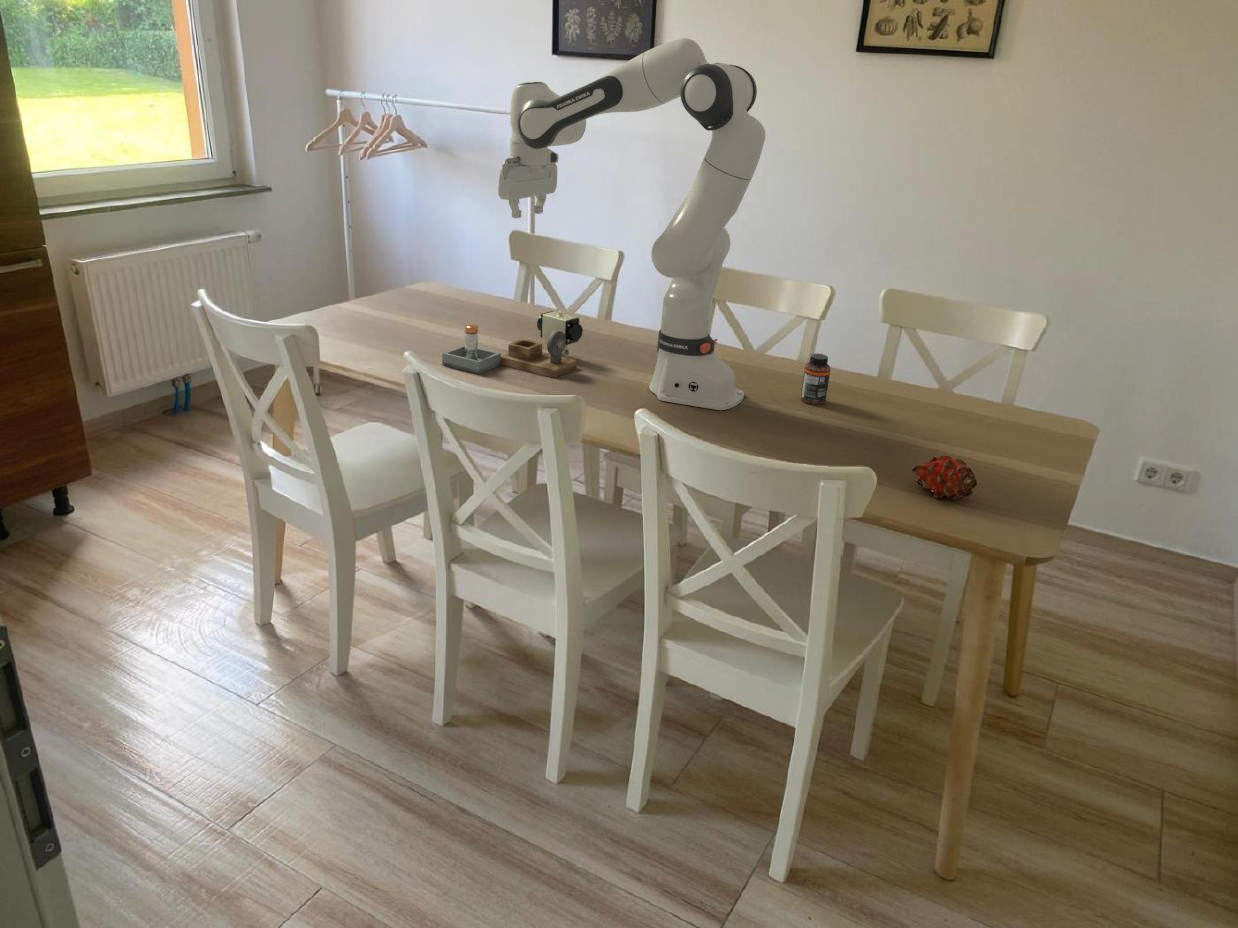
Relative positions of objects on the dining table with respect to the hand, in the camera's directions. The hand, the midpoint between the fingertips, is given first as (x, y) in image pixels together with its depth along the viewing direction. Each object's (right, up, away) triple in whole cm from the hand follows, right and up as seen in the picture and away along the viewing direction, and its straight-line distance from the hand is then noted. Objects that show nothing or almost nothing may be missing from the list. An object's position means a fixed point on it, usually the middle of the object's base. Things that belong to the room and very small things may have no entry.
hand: (527, 215), depth 219 cm
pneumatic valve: (+7, -33, +15) cm, 36 cm away
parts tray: (-14, -36, +4) cm, 39 cm away
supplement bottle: (+68, -46, -5) cm, 82 cm away
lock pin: (-14, -35, +4) cm, 38 cm away
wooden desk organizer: (+2, -36, +6) cm, 37 cm away
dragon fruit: (+83, -66, -48) cm, 117 cm away
